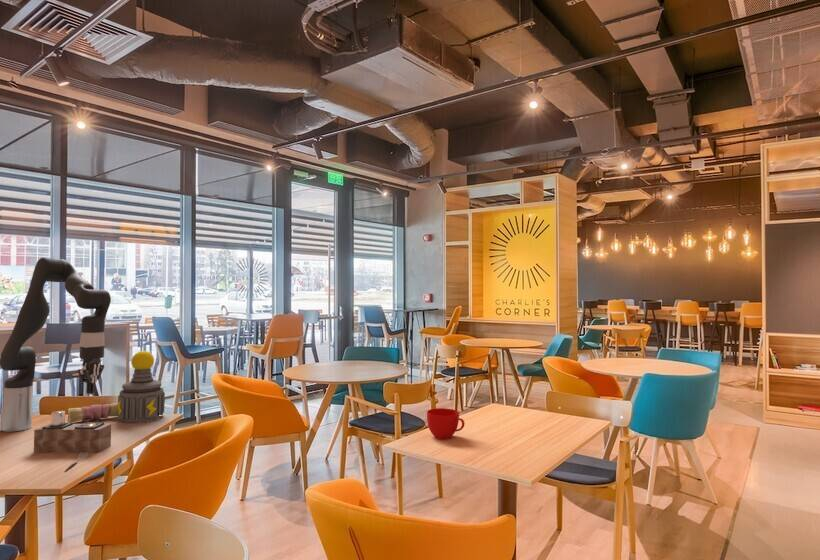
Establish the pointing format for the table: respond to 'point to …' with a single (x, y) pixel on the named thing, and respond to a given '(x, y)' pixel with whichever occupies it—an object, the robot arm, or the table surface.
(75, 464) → the fork
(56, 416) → the peg
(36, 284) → the robot arm
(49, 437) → the walnut bar
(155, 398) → the decorative lamp
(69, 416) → the scroll
